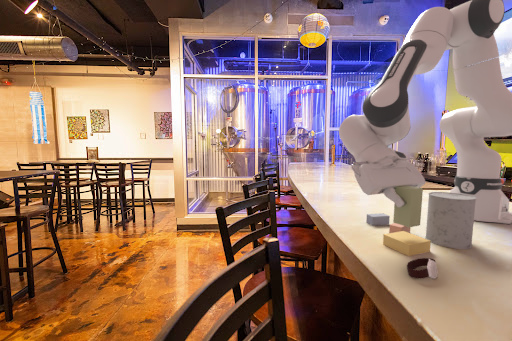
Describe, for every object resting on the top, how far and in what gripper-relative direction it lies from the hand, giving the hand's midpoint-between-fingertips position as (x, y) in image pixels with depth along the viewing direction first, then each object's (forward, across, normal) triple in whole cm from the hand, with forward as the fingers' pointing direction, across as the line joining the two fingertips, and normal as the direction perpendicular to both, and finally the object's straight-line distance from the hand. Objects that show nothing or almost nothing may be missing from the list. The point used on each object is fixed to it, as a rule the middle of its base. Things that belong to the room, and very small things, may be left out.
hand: (410, 204), depth 57 cm
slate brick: (-4, +10, +20) cm, 23 cm away
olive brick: (+3, 0, +4) cm, 5 cm away
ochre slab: (+8, 0, +8) cm, 11 cm away
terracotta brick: (+2, +8, +13) cm, 16 cm away
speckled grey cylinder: (+9, +14, +7) cm, 18 cm away
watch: (+14, -9, +2) cm, 17 cm away
